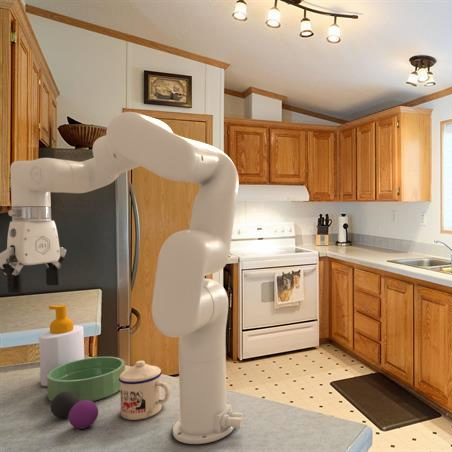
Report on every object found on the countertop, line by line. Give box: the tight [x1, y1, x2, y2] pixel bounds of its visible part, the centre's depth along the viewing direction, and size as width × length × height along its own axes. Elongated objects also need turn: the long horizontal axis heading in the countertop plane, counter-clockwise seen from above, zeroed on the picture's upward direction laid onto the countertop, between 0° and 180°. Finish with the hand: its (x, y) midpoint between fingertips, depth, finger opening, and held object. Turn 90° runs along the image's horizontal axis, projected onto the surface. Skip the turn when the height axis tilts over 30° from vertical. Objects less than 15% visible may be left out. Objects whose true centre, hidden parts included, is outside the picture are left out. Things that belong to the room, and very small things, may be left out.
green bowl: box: [46, 356, 126, 402], centre depth 111 cm, size 18×18×6 cm
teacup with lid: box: [119, 360, 171, 421], centre depth 99 cm, size 12×9×12 cm
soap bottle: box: [38, 304, 85, 387], centre depth 121 cm, size 13×8×20 cm, turn 169°
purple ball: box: [68, 400, 99, 430], centre depth 92 cm, size 6×6×6 cm
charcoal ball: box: [49, 391, 79, 419], centre depth 97 cm, size 6×6×6 cm
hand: (34, 288), depth 100 cm, fingers open, 9 cm apart
